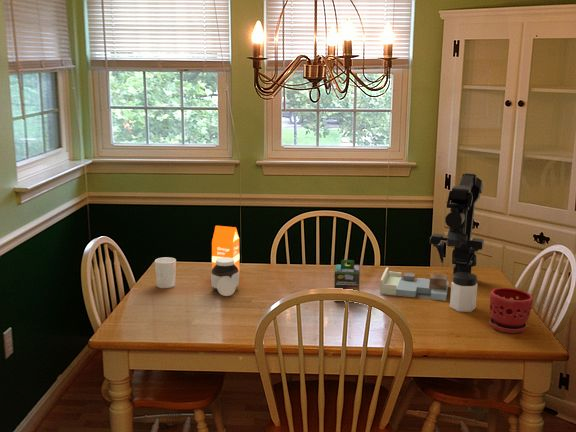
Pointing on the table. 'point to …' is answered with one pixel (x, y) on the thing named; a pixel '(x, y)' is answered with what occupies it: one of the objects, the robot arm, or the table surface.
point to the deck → (409, 287)
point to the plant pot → (510, 309)
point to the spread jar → (225, 276)
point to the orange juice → (225, 244)
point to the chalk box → (347, 275)
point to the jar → (463, 292)
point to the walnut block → (438, 281)
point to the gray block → (409, 277)
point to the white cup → (165, 272)
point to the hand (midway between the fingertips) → (454, 264)
